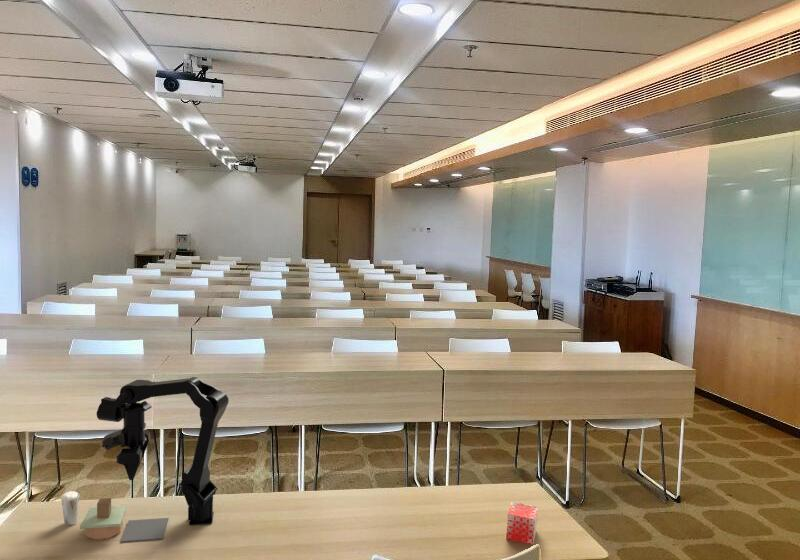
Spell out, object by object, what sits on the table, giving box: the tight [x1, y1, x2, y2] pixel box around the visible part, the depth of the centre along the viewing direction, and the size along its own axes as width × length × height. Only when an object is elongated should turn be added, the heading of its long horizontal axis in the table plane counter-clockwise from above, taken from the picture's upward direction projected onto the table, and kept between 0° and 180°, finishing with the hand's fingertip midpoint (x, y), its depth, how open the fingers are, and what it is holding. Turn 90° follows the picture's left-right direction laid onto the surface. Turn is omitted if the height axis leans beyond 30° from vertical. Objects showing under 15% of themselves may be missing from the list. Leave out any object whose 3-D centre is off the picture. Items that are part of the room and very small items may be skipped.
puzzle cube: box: [505, 501, 539, 545], centre depth 181 cm, size 8×8×8 cm
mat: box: [120, 517, 169, 544], centre depth 174 cm, size 11×11×1 cm
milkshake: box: [60, 490, 81, 527], centre depth 175 cm, size 4×5×10 cm
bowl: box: [85, 518, 124, 541], centre depth 172 cm, size 9×9×4 cm
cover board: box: [79, 497, 128, 530], centre depth 172 cm, size 10×10×5 cm
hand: (134, 472), depth 183 cm, fingers open, 9 cm apart
